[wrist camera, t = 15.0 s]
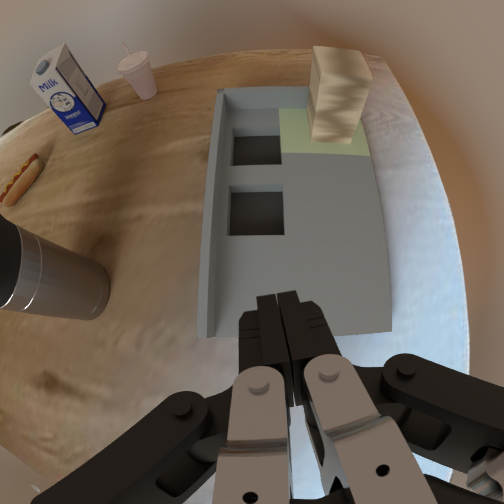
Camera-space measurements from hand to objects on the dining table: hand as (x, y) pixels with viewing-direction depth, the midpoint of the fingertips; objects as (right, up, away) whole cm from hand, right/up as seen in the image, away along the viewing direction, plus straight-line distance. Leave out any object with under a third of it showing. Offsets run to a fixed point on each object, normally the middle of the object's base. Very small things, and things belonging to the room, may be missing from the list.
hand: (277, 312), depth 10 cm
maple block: (+10, +21, +26) cm, 35 cm away
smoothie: (-22, +34, +35) cm, 54 cm away
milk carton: (-36, +31, +35) cm, 59 cm away
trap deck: (+5, +9, +26) cm, 28 cm away
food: (-51, +17, +33) cm, 63 cm away
